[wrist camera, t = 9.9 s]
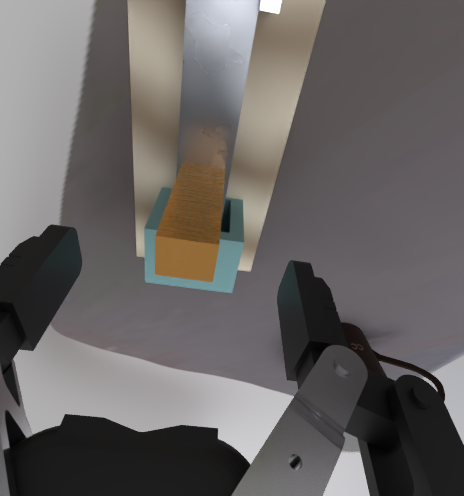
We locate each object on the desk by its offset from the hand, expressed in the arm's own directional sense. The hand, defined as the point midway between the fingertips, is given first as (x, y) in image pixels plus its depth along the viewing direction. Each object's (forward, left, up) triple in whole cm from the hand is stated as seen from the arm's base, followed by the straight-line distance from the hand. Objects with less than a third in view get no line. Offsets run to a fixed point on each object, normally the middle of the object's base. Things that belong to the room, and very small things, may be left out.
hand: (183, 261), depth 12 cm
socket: (+5, 0, -11) cm, 12 cm away
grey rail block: (-3, 0, -10) cm, 11 cm away
